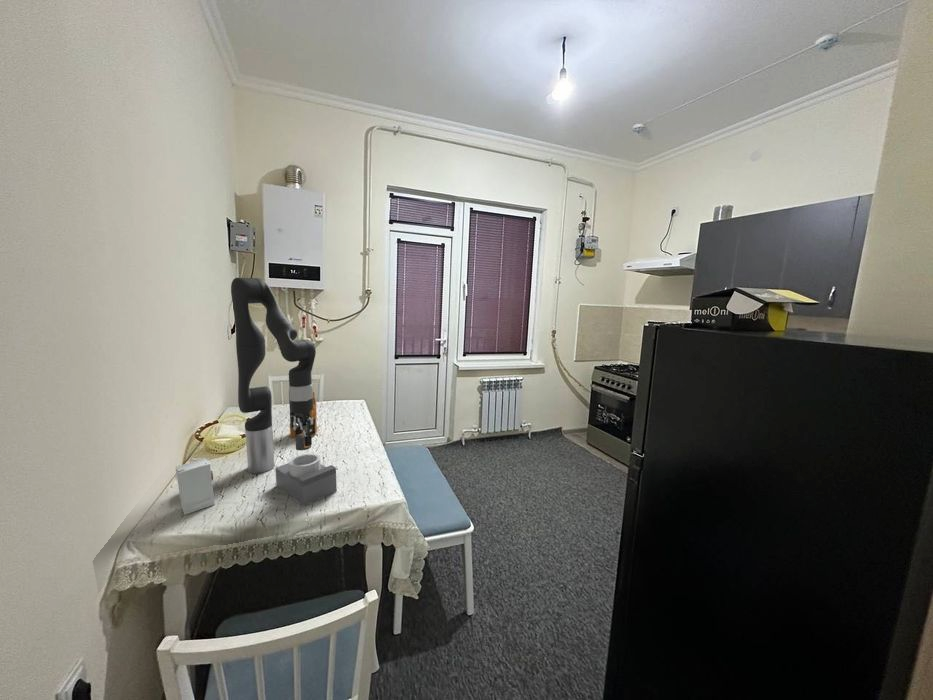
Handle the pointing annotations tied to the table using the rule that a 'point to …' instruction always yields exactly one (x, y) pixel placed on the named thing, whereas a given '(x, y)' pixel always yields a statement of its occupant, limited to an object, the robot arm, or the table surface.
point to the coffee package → (312, 415)
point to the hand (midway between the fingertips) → (303, 442)
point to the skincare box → (195, 485)
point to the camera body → (306, 478)
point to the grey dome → (301, 442)
